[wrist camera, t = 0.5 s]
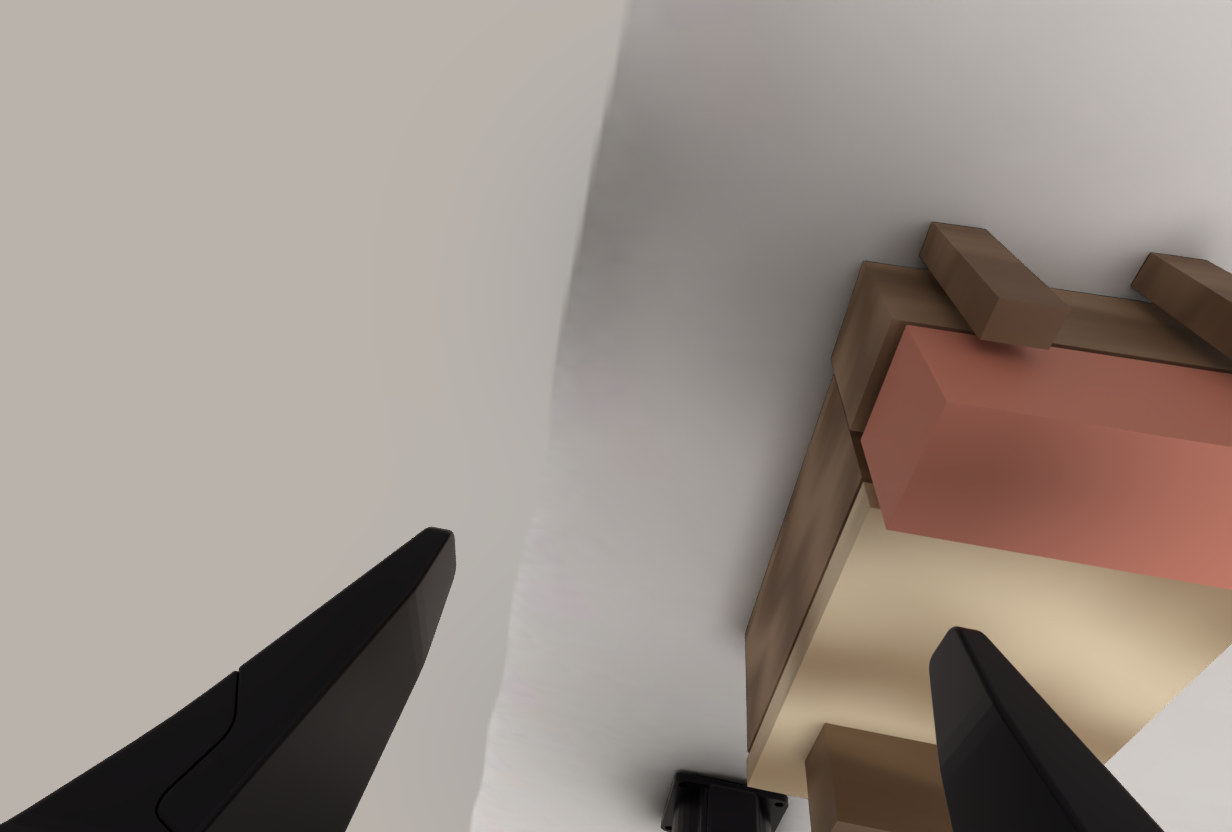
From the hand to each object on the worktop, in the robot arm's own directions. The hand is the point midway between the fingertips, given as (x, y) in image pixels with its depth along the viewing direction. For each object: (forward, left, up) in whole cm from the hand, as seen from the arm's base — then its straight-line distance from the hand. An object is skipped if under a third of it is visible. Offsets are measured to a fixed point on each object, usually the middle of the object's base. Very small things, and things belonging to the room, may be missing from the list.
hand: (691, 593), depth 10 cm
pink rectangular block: (0, -9, -8) cm, 12 cm away
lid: (-9, -9, -7) cm, 15 cm away
